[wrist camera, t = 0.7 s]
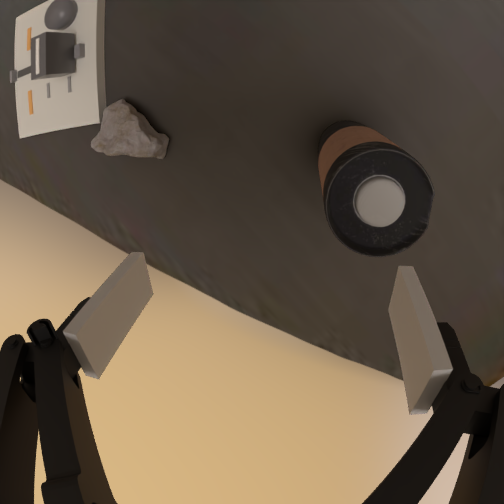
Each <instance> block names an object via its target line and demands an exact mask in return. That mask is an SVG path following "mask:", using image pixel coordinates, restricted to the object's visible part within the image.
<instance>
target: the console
mask: <svg viewBox="0 0 504 504" xmlns="http://www.w3.org/2000/svg"><path fill="white" fill-rule="evenodd" d="M104 26H105V0H49V1H47V2H45V3H43V4H41V5H39V6H37V7H35V8H33V9H31V10H29V11H28V12H26V13H24V14H22V15H21V16H19V17H17V18H16V28H15V70H12V71H10V83H11V82H15V91H16V106H17V118H18V127H19V136H20V138H24V137H28V136H33V135H37V134H42V133H46V132H51V131H56V130H61V129H67V128H72V127H78V126H84V125H90V124H97V123H102V119H103V111H104V109H105V108H106V107H107V106H106V89H105V60H104ZM44 32H61V33H74V34H75V45H74V58H75V73H72V74H68V75H65V76H62V77H55V78H45V79H37V80H31V38H33V37H35V36H38V35H40V34H42V33H44Z"/></svg>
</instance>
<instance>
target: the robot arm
mask: <svg viewBox="0 0 504 504" xmlns="http://www.w3.org/2000/svg"><path fill="white" fill-rule="evenodd" d="M152 295H153V291H152V287H151V283H150V278H149V275H148V270H147V266H146V261H145V257H144V253H141V252H131V253H130V254H129V255H128V257H127V258H126V259H125V260H124V261H123V262H122V263H121V264H120V265H119V266H118V267H117V268H116V270H115V271H114V272H113V273H112V274H111V275H110V276H109V277H108V279H107V280H106V281H105V282H104V283H103V284H102V285H101V286H100V288H99V289H98V290H97V291H96V292H95V294H94V295H93V296H92V297H88V298H86V299H85V300H83V301H82V302H80V303H79V304H78V306H77V307H76V308H75V309H74V311H72V313H71V314H70V316H68V317H67V319H66V320H65V321H64V322H63V323H62V324H61V326H60V327H59V328H58V329H57V330H56V331H55V329H54V327H53V325H52V323H51V321H50V320H48V319H39V320H37V321H35V322H33V323H32V324H31V325H30V326H29V327H28V329H27V334H28V336H29V338H30V339H31V341H32V342H28V343H26V342H25V340H24V338H23V337H22V336H21V335H20V334H15V335H12V336H10V337H8V338H7V339H6V340H5V341H4V343H3V345H2V347H1V350H0V504H34V478H35V477H34V476H35V460H36V449H37V439H38V430H39V435H40V443H41V449H42V456H43V461H44V467H45V472H46V479H47V480H46V482H44V483H42V485H41V491H42V496H43V501H44V504H117V503H116V501H115V499H114V497H113V495H112V492H111V489H110V487H109V484H108V481H107V478H106V475H105V472H104V469H103V466H102V463H101V460H100V456H99V453H98V450H97V446H96V443H95V439H94V435H93V432H92V428H91V424H90V420H89V416H88V412H87V408H86V404H85V399H84V394H83V389H82V384H81V380H80V376H79V374H78V371H79V369H80V368H82V369H83V371H84V373H85V375H86V376H90V377H93V378H96V379H99V378H100V376H101V375H102V373H103V371H104V370H105V368H106V367H107V365H108V363H109V362H110V360H111V359H112V357H113V355H114V354H115V352H116V351H117V349H118V347H119V346H120V344H121V343H122V341H123V340H124V338H125V337H126V335H127V333H128V332H129V330H130V329H131V327H132V326H133V324H134V323H135V321H136V319H137V318H138V316H139V315H140V313H141V312H142V310H143V309H144V307H145V306H146V304H147V303H148V301H149V300H150V298H151V297H152ZM388 311H389V315H390V319H391V323H392V328H393V332H394V336H395V341H396V345H397V350H398V354H399V359H400V364H401V369H402V374H403V379H404V384H405V390H406V396H407V401H408V407H409V414H411V415H412V414H425V413H427V412H428V410H429V409H430V407H431V406H432V407H433V412H434V414H433V415H432V417H431V418H430V420H429V421H428V423H427V424H426V426H425V427H424V428H423V430H422V431H421V433H420V434H419V436H418V437H417V438H416V440H415V441H414V442H413V444H412V445H411V447H410V448H409V449H408V450H407V452H406V453H405V454H404V456H403V457H402V458H401V460H400V461H399V462H398V463H397V464H396V466H395V467H394V468H393V469H392V471H391V472H390V473H389V474H388V475H387V476H386V478H385V479H384V480H383V481H382V482H381V483H380V485H379V486H378V487H377V488H376V489H375V490H374V491H373V492H372V493H371V495H370V496H369V497H368V498H367V499H366V500H365V501H364V502H363V503H362V504H418V502H419V501H420V500H421V498H422V497H423V496H424V494H425V493H426V492H427V490H428V489H429V487H430V486H431V484H432V483H433V482H434V480H435V478H436V477H437V475H438V474H439V473H440V471H441V470H442V468H443V466H444V465H445V463H446V462H447V460H448V458H449V457H450V455H451V453H452V452H453V450H454V448H455V447H456V445H457V443H458V441H459V440H460V437H461V436H462V434H463V433H466V434H470V436H469V440H468V444H467V448H466V452H465V455H464V459H463V463H462V466H461V469H460V472H459V476H458V479H457V482H456V485H455V488H454V491H453V493H452V496H451V499H450V501H449V504H504V384H503V385H502V386H501V388H500V389H497V388H493V387H488V386H484V385H483V382H482V381H481V379H480V378H479V377H477V376H476V375H475V374H472V373H471V372H470V370H469V367H468V364H467V361H466V359H465V356H464V353H463V351H462V348H461V346H460V343H459V341H458V338H457V336H456V333H455V331H454V329H453V328H452V327H451V326H450V325H449V324H448V323H447V322H441V323H436V320H435V318H434V315H433V312H432V310H431V308H430V305H429V303H428V300H427V298H426V295H425V293H424V291H423V288H422V286H421V284H420V281H419V279H418V277H417V275H416V272H415V270H414V268H413V266H398V271H397V276H396V280H395V284H394V289H393V293H392V297H391V301H390V305H389V309H388ZM20 377H21V381H20Z"/></svg>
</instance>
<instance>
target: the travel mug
mask: <svg viewBox="0 0 504 504" xmlns="http://www.w3.org/2000/svg"><path fill="white" fill-rule="evenodd" d="M318 168H319V174H320V181H321V187H322V194H323V201H324V208H325V214H326V218H327V221H328V224H329V226H330V228H331V230H332V232H333V233H334V235H335V236H336V237H337V239H338V240H339V241H340V242H341V243H342V244H343V245H345V246H346V247H347V248H349V249H350V250H352V251H354V252H356V253H359V254H361V255H365V256H370V257H386V256H391V255H395V254H398V253H400V252H402V251H404V250H406V249H408V248H409V247H411V246H412V245H414V244H415V243H416V242H417V241H418V240H419V239H420V238H421V237H422V236H423V235H424V233H425V232H426V230H427V229H428V223H429V216H430V212H431V207H432V201H433V197H434V195H435V191H434V187H433V184H432V182H431V180H430V177H429V176H428V174H427V172H426V170H425V169H424V168H423V167H422V165H421V164H420V163H419V162H418V161H417V160H416V159H415V158H413V157H412V156H411V155H409V154H408V153H407V152H405V151H404V150H403V149H401V148H400V147H398V146H397V145H396V144H394V143H393V142H391V141H390V140H389V139H387V138H386V137H384V136H383V135H381V134H380V133H378V132H377V131H375V130H373V129H371V128H369V127H367V126H364V125H362V124H360V123H357V122H353V121H340V122H337V123H334V124H333V125H331V126H330V127H328V128H327V129H326V130H325V132H324V133H323V134H322V136H321V139H320V142H319V148H318Z"/></svg>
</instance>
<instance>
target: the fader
mask: <svg viewBox="0 0 504 504" xmlns="http://www.w3.org/2000/svg"><path fill="white" fill-rule="evenodd" d="M74 45H75V34H74V33H61V32H44V33H42V34H40V35H38V36H35V37H33V38H31V80H37V79H45V78H55V77H62V76H65V75H68V74H72V73H75V58H74Z"/></svg>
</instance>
